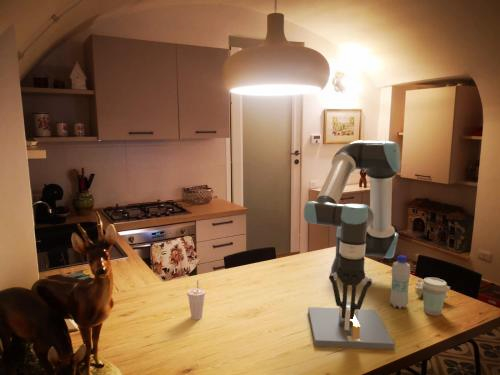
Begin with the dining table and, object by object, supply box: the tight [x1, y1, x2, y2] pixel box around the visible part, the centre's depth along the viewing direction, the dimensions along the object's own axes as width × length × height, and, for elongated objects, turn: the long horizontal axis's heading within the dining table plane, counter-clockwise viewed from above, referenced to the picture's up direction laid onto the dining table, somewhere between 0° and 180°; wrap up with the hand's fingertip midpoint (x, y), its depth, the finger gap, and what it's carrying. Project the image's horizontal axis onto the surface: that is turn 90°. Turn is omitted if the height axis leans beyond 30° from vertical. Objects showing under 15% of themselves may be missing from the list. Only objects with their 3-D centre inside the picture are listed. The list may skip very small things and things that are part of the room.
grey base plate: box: [307, 306, 396, 351], centre depth 125 cm, size 22×24×2 cm
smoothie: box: [186, 279, 206, 321], centre depth 131 cm, size 6×6×14 cm
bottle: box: [389, 254, 412, 309], centre depth 141 cm, size 7×7×20 cm
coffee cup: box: [422, 276, 448, 317], centre depth 137 cm, size 8×8×12 cm
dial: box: [338, 301, 360, 339], centre depth 120 cm, size 15×6×6 cm, turn 177°
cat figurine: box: [414, 279, 451, 299], centre depth 149 cm, size 8×7×12 cm
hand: (347, 327), depth 116 cm, fingers closed
